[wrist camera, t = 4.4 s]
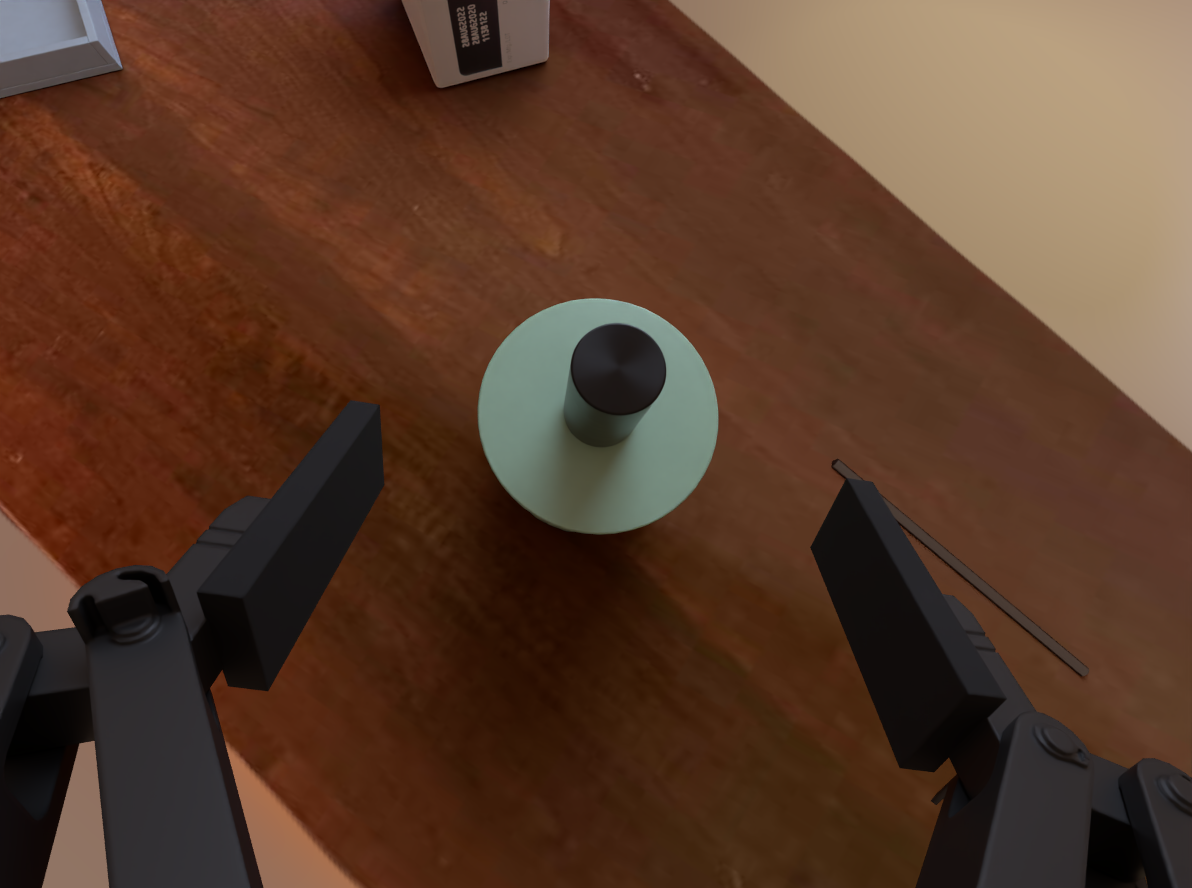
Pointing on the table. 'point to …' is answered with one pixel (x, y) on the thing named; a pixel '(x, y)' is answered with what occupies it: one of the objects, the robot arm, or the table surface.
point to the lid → (597, 416)
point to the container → (479, 36)
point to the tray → (53, 43)
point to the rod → (974, 579)
